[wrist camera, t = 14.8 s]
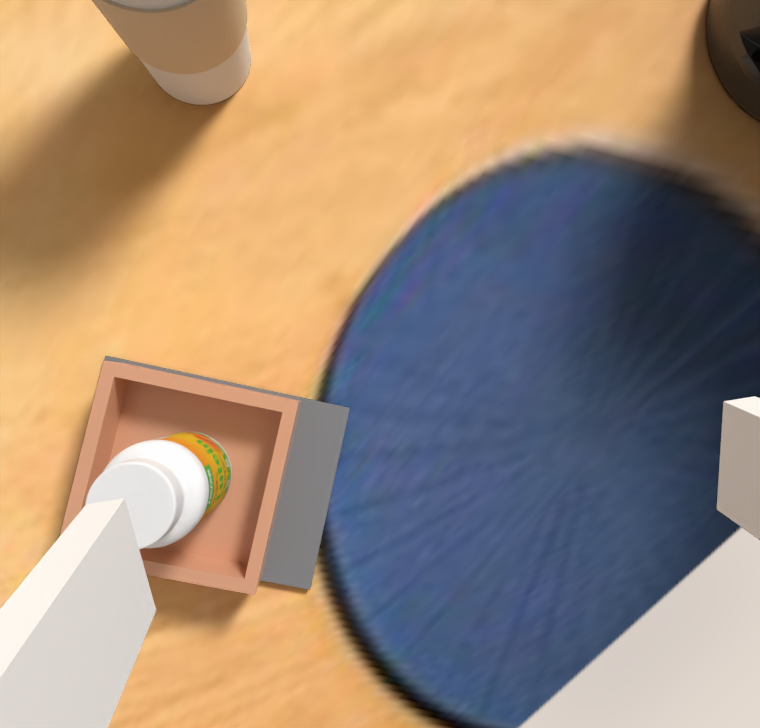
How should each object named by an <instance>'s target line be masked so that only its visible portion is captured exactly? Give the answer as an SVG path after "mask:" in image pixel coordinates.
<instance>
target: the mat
mask: <svg viewBox="0 0 760 728" xmlns="http://www.w3.org/2000/svg"><path fill="white" fill-rule="evenodd" d="M104 361H112V362H121V363H127V364H131V365H136V366H141V367H145V368H150V369H155V370H159V371H164V372H169V373H173V374H178V375H183V376H187V377H192V378H197V379H201V380H206V381H211V382H215V383H220V384H225V385H229V386H234V387H239V388H243V389H248V390H253V391H258V392H262V393H267V394H272V395H276V396H281V397H286V398H290V399H295V400H300V401H301V406H300V410H299V415H298V419H297V423H296V428H295V432H294V437H293V441H292V446H291V450H290V454H289V459H288V463H287V468H286V472H285V477H284V481H283V486H282V490H281V494H280V499H279V503H278V508H277V512H276V517H275V521H274V525H273V530H272V534H271V539H270V543H269V548H268V552H267V557H266V561H265V565H264V570H263V574H262V578H261V581H266V582H271V583H277V584H282V585H287V586H293V587H298V588H303V589H309V590H310V587H311V583H312V578H313V574H314V569H315V565H316V560H317V555H318V551H319V546H320V542H321V537H322V533H323V528H324V524H325V519H326V514H327V510H328V505H329V501H330V496H331V492H332V487H333V483H334V478H335V473H336V469H337V464H338V460H339V455H340V451H341V446H342V441H343V437H344V432H345V428H346V423H347V419H348V414H349V410H350V408H348V407H343V406H338V405H334V404H329V403H324V402H320V401H315V400H310V399H306V398H301V397H296V396H292V395H287V394H282V393H278V392H273V391H268V390H264V389H259V388H254V387H250V386H245V385H240V384H236V383H231V382H226V381H222V380H217V379H212V378H208V377H203V376H198V375H194V374H189V373H184V372H180V371H175V370H170V369H166V368H161V367H156V366H152V365H147V364H142V363H138V362H133V361H128V360H124V359H119V358H114V357H110V356H105V359H104Z"/></svg>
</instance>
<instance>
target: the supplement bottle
mask: <svg viewBox="0 0 760 728" xmlns="http://www.w3.org/2000/svg"><path fill="white" fill-rule="evenodd" d="M231 478H232V469H231V463H230V460H229V457H228V455H227V453H226V451H225V450H224V448H223V447H222V446H221V445H220V444H219V443H218V442H217V441H216V440H214V439H213V438H211V437H209V436H207V435H205V434H202V433H198V432H181V433H176V434H172V435H168V436H164V437H160V438H156V439H152V440H147V441H143V442H139V443H137V444H134V445H132V446H130V447H128V448H126V449H124V450H123V451H121V452H120V453H119V454H117V455H116V456H115V457H114V458H113V459H112V460H111V461H110V462H109V464H108V465H107V466H106V468H105V469H104V471H103V473H102V474H101V475H100V476H98V478H97V479H96V480H95V481H94V483H93V484H92V486H91V487H90V489H89V492H88V494H87V498H86V503H85V505H86V504H92V503H98V502H104V501H110V500H117V499H123V498H125V501H126V504H127V508H128V511H129V515H130V518H131V522H132V526H133V529H134V533H135V536H136V540H137V543H138V547H139V549H143V548H158V547H163V546H167V545H169V544H172V543H174V542H176V541H178V540H180V539H181V538H183V537H184V536H185V535H187V534H188V533H189V532H191V531H192V530H193V529H194V528H195V527H196V526H197V525H198V524H199V523H200V522H201V521H202V520H203V519H204V518H205V517H206V516H207V515H209V514H210V513H211V512H212V511H213V510H214V509H215V508H216V507H217V506H218V505H219V504H220V503H221V501H222V500H223V499H224V497H225V496H226V494H227V492H228V490H229V487H230V484H231Z"/></svg>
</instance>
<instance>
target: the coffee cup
mask: <svg viewBox="0 0 760 728" xmlns="http://www.w3.org/2000/svg"><path fill="white" fill-rule="evenodd" d="M92 1H93V2H94V4H95V5H96V6H97V8H98V9H99V10H100V11H101V13H102V14H103V15H104V17H105V18H106V19H107V21H108V22H109V23H110V24H111V26H112V27H113V28H114V30H115V31H116V32H117V34H118V35H119V36H120V37H121V39H122V40H123V41H124V43H125V44H126V45H127V46H128V48H129V49H130V50H131V51H132V52H133V53H134V54H135V55H136V56H137V57H138V58H139V59H140V60H141V62H142V63H143V64H144V66H145V67H146V68H147V70H148V71H149V72H150V74H151V75H152V77H153V78H154V79H155V81H156V82H157V83H158V84H159V86H160V87H161V88H162V89H163V90H164V91H166V92H167V93H168V94H169V95H171V96H172V97H174V98H176V99H178V100H180V101H183V102H186V103H190V104H196V105H208V104H214V103H218V102H221V101H223V100H225V99H227V98H229V97H231V96H232V95H233V94H235V93H236V92H237V91H238V90H239V89H240V88H241V87H242V85H243V84H244V82H245V81H246V79H247V76H248V74H249V71H250V66H251V53H250V45H249V38H248V31H247V5H246V0H92Z"/></svg>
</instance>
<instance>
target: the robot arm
mask: <svg viewBox="0 0 760 728" xmlns="http://www.w3.org/2000/svg"><path fill="white" fill-rule="evenodd" d="M707 40H708V47H709V52H710V56H711V59H712V62H713V65H714V67H715V70H716V72H717V74H718V76H719V78H720V80H721V82H722V84H723V85H724V87H725V88H726V90H727V91H728V92H729V94H730V95H731V96H732V98H733V99H734V100H735V101H736V102H737V103H738V104H739V105H740V106H741V107H742V108H743V109H744V110H745V111H746V112H747V113H749V114H750V115H751V116H753V117H754V118H756V119H757V120H759V121H760V0H710V4H709V9H708V15H707ZM717 510H718V511H720V512H721V513H722V514H724V515H725V516H727V517H728V518H729V519H731V520H732V521H734V522H735V523H737V524H738V525H739V526H741V527H742V528H744V529H745V530H746V531H748V532H749V533H751V534H752V535H754V536H755V537H756V538H758V539H759V540H760V398H758V397H755V396H754V397H748V398H742V399H735V400H729V401H723V417H722V433H721V449H720V465H719V480H718V496H717ZM155 612H156V607H155V604H154V600H153V597H152V593H151V590H150V586H149V582H148V579H147V575H146V572H145V568H144V565H143V561H142V558H141V554H140V550H139V547H138V543H137V540H136V536H135V533H134V529H133V526H132V522H131V518H130V515H129V511H128V508H127V504H126V501H125V498H123V499H117V500H110V501H104V502H98V503H92V504H86V505H85V506H84V508H83V509H82V510H81V511H80V513H79V514H78V515H77V516H76V517H75V519H74V520H73V521H72V522H71V524H70V525H69V526H68V527H67V528H66V530H65V531H64V532H63V533H62V535H61V536H60V537H59V538H58V539H57V541H56V542H55V543H54V544H53V546H52V547H51V548H50V549H49V550H48V552H47V553H46V554H45V555H44V557H43V558H42V559H41V560H40V562H39V563H38V564H37V565H36V566H35V568H34V569H33V570H32V571H31V573H30V574H29V575H28V576H27V577H26V579H25V580H24V581H23V582H22V584H21V585H20V586H19V587H18V588H17V590H16V591H15V592H14V593H13V595H12V596H11V597H10V598H9V599H8V601H7V602H6V603H5V604H4V606H3V607H2V608H1V609H0V728H108V726H109V723H110V721H111V719H112V716H113V714H114V711H115V709H116V706H117V704H118V702H119V699H120V697H121V694H122V692H123V689H124V687H125V685H126V682H127V680H128V677H129V675H130V672H131V670H132V668H133V665H134V663H135V660H136V658H137V656H138V653H139V651H140V648H141V646H142V643H143V641H144V639H145V636H146V634H147V631H148V629H149V626H150V624H151V622H152V619H153V617H154V614H155Z"/></svg>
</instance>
